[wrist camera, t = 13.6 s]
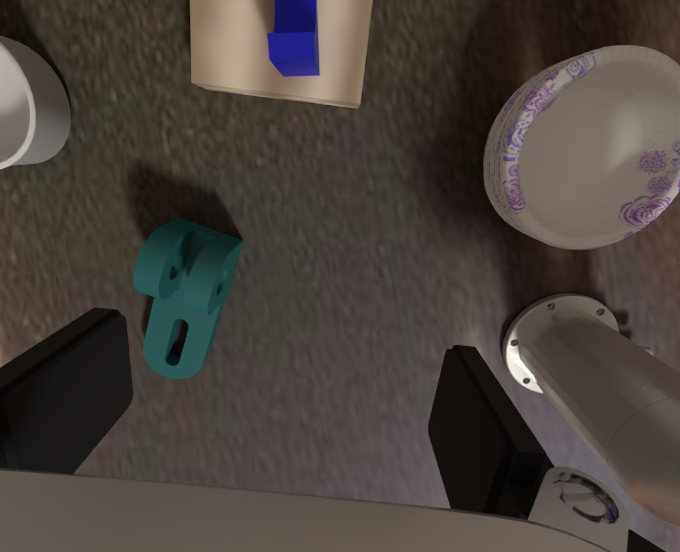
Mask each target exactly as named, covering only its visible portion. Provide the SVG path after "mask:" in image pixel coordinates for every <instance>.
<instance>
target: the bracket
mask: <svg viewBox="0 0 680 552" xmlns="http://www.w3.org/2000/svg"><path fill="white" fill-rule="evenodd" d="M242 243H243V240H241V239H238V238H235V237H232V236H230V235H227V234H224V233H221V232H219V231H216V230H213V229H210V228H208V227H205V226H202V225H199V224H197V223H194V222H191V221H188V220H186V219H183V218H178V219H176V220H174V221H171V222H169V223H167V224H164V225H162V226H160V227H158V228H157V229H156V230H154V231H153V232H152V234H151V235H150V236H149V237H148V239H147V240H146V242H145V244H144V245H143V247H142V249H141V252H140V254H139V256H138V259H137V262H136V265H135V270H134V277H133V283H134V287H135V289H136V290H137V291H138V292H141V293H144V294H147V295H150V296H153V297H154V300H153V305H152V309H151V314H150V318H149V322H148V327H147V331H146V335H145V340H144V344H143V353H144V356H145V359H146V361H147V363H148V364H149V365H150V366H151V368H152V369H154V370H155V371H156V372H157V373H159V374H161V375H163V376H165V377H168V378H173V379H183V378H187V377H190V376H192V375H194V374H195V373H197V372H198V371H199V369H200V368H201V366H202V365H203V363H204V362H205V360H206V359H207V357H208V355H209V352H210V349H211V346H212V342H213V339H214V336H215V332H216V329H217V326H218V322H219V319H220V316H221V312H222V309H223V306H224V302H225V299H226V296H227V293H228V289H229V286H230V283H231V279H232V276H233V273H234V269H235V266H236V263H237V259H238V256H239V253H240V249H241V246H242ZM180 319H183V320H185V321H186V322H187V323H188V325H189V329H188V332H187V336H186V340H185V343H184V347H183V351H182V354H181V356H178V355H176V354H175V353H174V352H173V345H174V341H175V337H176V333H177V330H178V326H179V322H180Z"/></svg>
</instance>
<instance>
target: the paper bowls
mask: <svg viewBox="0 0 680 552" xmlns="http://www.w3.org/2000/svg"><path fill="white" fill-rule="evenodd" d="M483 173H484V184H485V189H486V192H487V195H488V197H489V200H490V201H491V203H492V205H493V207H494V209H495V210H496V211H497V213H498V214H499V215H500V216H501V217H502V218H503V220H504V221H506V222H507V223H508V224H509V225H511V226H512V227H514V228H515V229H517V230H518V231H520V232H522V233H524V234H526V235H528V236H530V237H532V238H535V239H537V240H539V241H541V242H543V243H545V244H548V245H551V246H553V247H558V248H563V249H571V250H585V249H593V248H598V247H602V246H606V245H609V244H612V243H615V242H618V241H620V240H623V239H625V238H627V237H628V236H631V235H633V234H634V233H636V232H637V231H639V230H641V229H642V228H643V227H645V226H646V225H648V224H649V223H650V222H651V221H653V220H654V219H655V218H656V217H658V216H659V215H660V214H661V212H662V211H664V210H665V209H666V207H667V206H668V205H669V204H670V203H671V201H672V200H673V199H674V198H675V196H676V195H677V194H678V192H679V191H680V66H679V65H678V64H677V63H676V62H675V61H674V60H672V59H671V58H669V57H668V56H666V55H664V54H662V53H660V52H658V51H656V50H654V49H650V48H646V47H642V46H633V45H618V46H608V47H603V48H599V49H595V50H592V51H589V52H586V53H583V54H581V55H578V56H575V57H571V58H569V59H567V60H564V61H562V62H559V63H557V64H555V65H553V66H550V67H548V68H546V69H545V70H543V71H541V72H540V73H538V74H536V75H535V76H533V77H532V78H530V79H529V80H528V81H527V82H525V83H524V84H523V85H522V86H521V87H520V88H519V89H518V90H517V91H516V92H515V93H514V94H513V95H512V96H511V97H510V98H509V100H508V101H507V102H506V103H505V105H504V106H503V108H502V109H501V111H500V112H499V114H498V116H497V117H496V119H495V121H494V123H493V125H492V127H491V129H490V132H489V135H488V138H487V142H486V146H485V151H484V159H483Z"/></svg>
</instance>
